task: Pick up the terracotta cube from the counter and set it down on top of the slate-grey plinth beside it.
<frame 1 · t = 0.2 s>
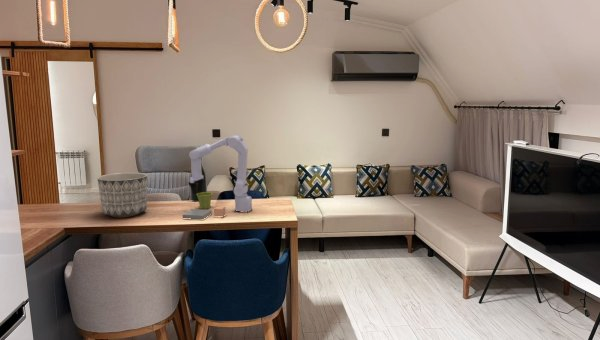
hand: (197, 192, 261), 10 cm above the table, tool pointing down, fingers open, 7 cm apart
planter: (125, 214, 251), on the table
terracotta cube: (219, 216, 246), on the table
plant pot: (204, 208, 265), on the table
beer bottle: (199, 200, 286), on the table
slate plinth: (197, 217, 245), on the table
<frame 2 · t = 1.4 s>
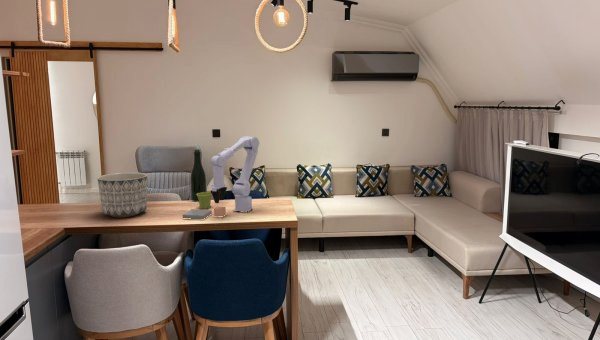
hand: (219, 201, 245), 8 cm above the table, tool pointing down, fingers open, 7 cm apart
nothing on the table moved.
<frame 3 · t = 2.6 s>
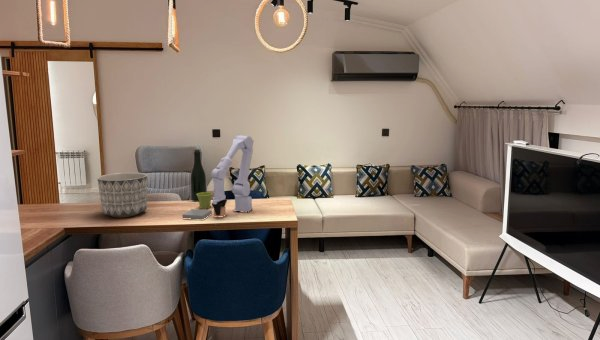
hand: (219, 213, 246), 1 cm above the table, tool pointing down, fingers closed on terracotta cube, 5 cm apart
terracotta cube: (219, 216, 246), on the table, touching gripper
everything else where it was.
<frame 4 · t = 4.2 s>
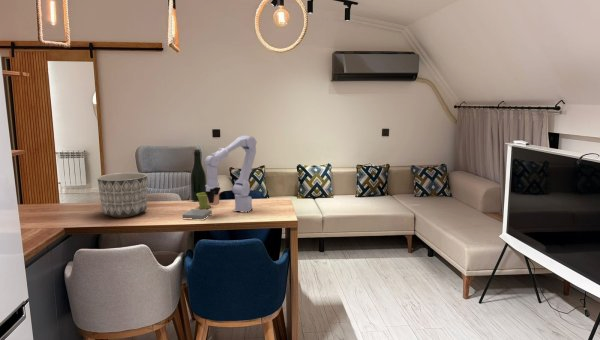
hand: (213, 201, 244), 9 cm above the table, tool pointing down, fingers closed on terracotta cube, 5 cm apart
terracotta cube: (213, 204, 245), point 7 cm above the table, touching gripper
everything else where it was.
when the fingers open (6 cm above the table, at t = 5.7 s): terracotta cube drops 2 cm, resting on slate plinth.
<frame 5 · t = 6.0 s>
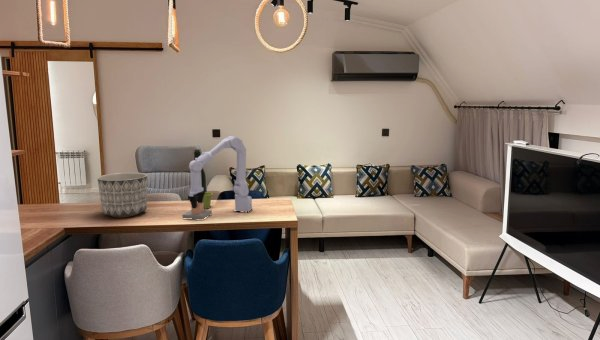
hand: (197, 206, 244), 6 cm above the table, tool pointing down, fingers open, 7 cm apart
terracotta cube: (197, 212, 245), point 2 cm above the table, touching slate plinth
slate plinth: (197, 217, 245), on the table, touching terracotta cube
everything else where it was.
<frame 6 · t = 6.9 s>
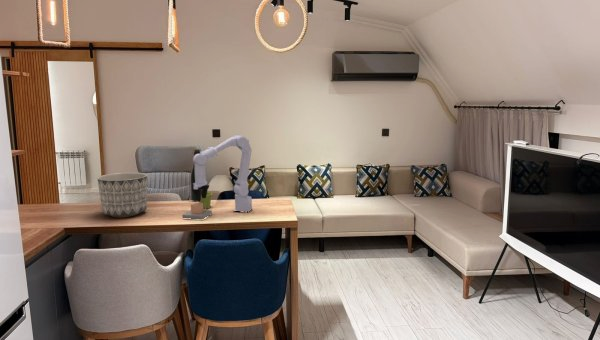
hand: (201, 199, 246), 9 cm above the table, tool pointing down, fingers open, 7 cm apart
terracotta cube: (197, 212, 245), point 2 cm above the table
slate plinth: (197, 217, 245), on the table
everything else where it was.
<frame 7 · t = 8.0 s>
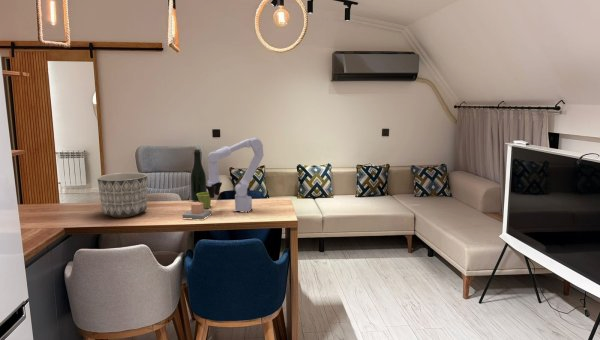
hand: (214, 196, 253), 9 cm above the table, tool pointing down, fingers open, 7 cm apart
terracotta cube: (197, 212, 245), point 2 cm above the table, touching slate plinth
slate plinth: (197, 217, 245), on the table, touching terracotta cube
everything else where it was.
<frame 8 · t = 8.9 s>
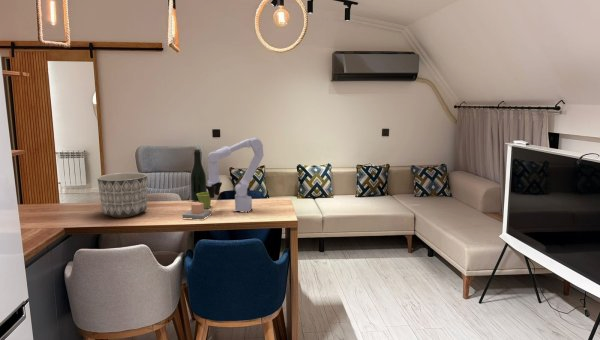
hand: (214, 196, 253), 9 cm above the table, tool pointing down, fingers open, 7 cm apart
nothing on the table moved.
at the end: terracotta cube inside the target area on the slate plinth (0.3 cm from its centre), point 3.0 cm above the slate plinth's base; terracotta cube tilted 0°; the gripper is holding nothing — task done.
